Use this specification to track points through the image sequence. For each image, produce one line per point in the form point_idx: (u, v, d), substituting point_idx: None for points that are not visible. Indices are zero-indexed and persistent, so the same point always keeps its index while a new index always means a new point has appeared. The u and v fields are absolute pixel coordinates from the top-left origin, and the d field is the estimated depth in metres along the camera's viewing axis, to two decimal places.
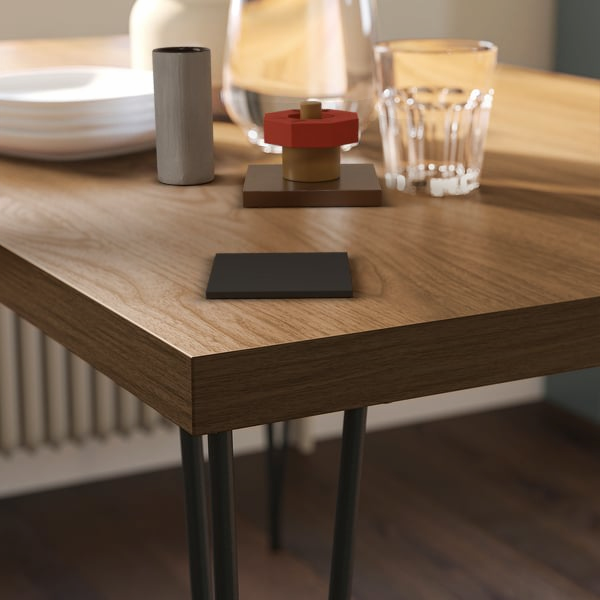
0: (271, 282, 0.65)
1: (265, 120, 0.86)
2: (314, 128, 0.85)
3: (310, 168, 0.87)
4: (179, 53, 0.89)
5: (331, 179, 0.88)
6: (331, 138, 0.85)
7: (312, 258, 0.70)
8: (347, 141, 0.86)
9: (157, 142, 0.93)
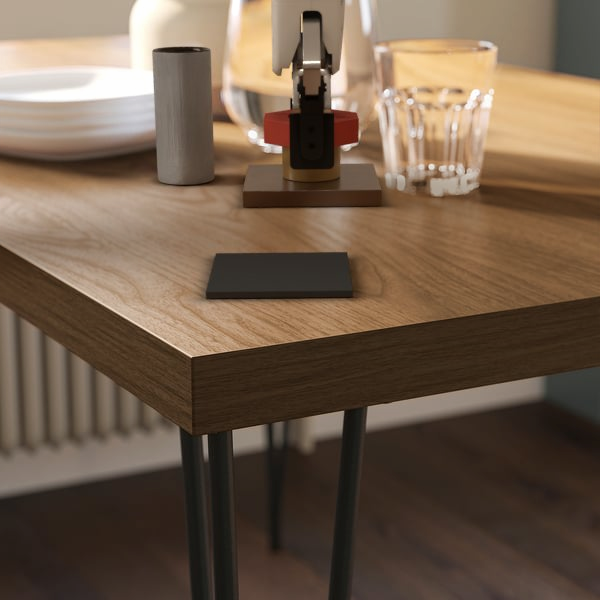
0: (271, 282, 0.65)
1: (265, 120, 0.86)
2: None
3: None
4: (179, 53, 0.89)
5: (331, 179, 0.88)
6: None
7: (312, 258, 0.70)
8: (347, 141, 0.86)
9: (157, 142, 0.93)
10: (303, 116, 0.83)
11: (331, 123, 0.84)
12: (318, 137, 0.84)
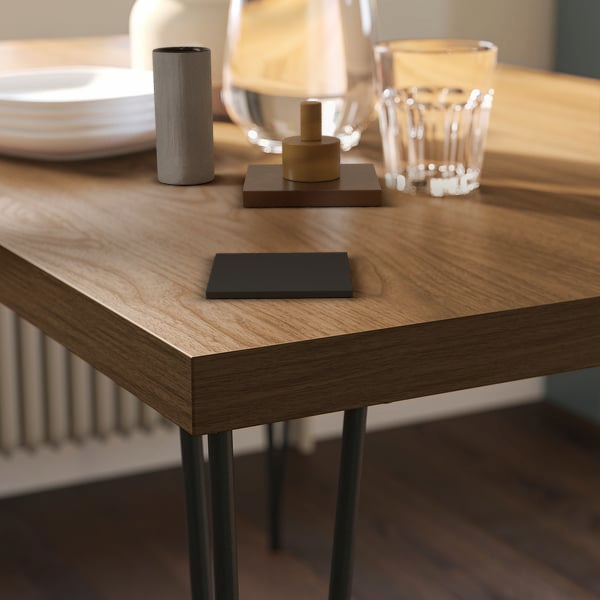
0: (271, 282, 0.65)
1: None
2: None
3: (310, 168, 0.87)
4: (179, 53, 0.89)
5: (331, 179, 0.88)
6: None
7: (312, 258, 0.70)
8: None
9: (157, 142, 0.93)
10: None
11: None
12: None
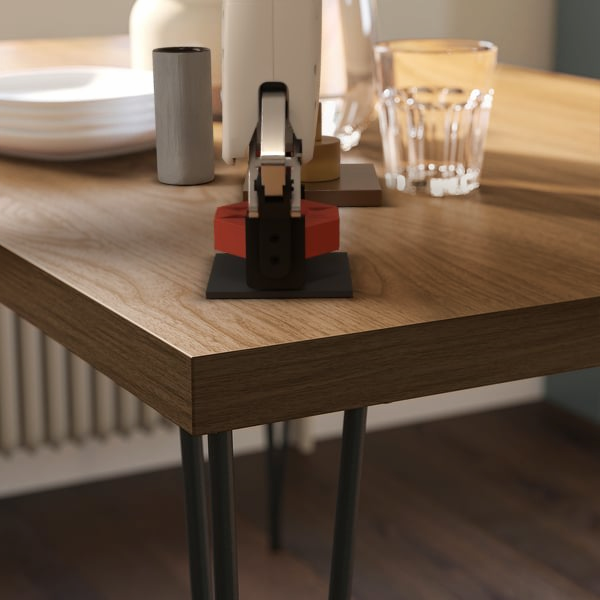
0: None
1: (216, 220, 0.65)
2: None
3: (310, 168, 0.87)
4: (179, 53, 0.89)
5: (331, 179, 0.88)
6: None
7: (312, 258, 0.70)
8: (325, 249, 0.65)
9: (157, 142, 0.93)
10: (263, 221, 0.62)
11: (302, 229, 0.63)
12: (283, 248, 0.62)
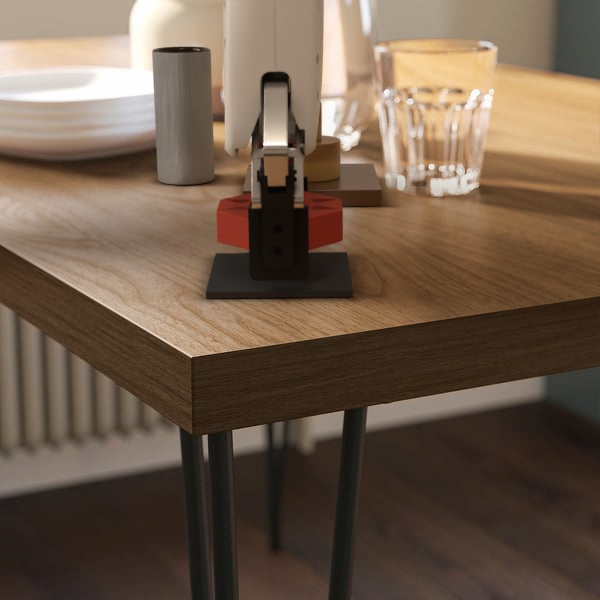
0: (271, 282, 0.65)
1: (218, 212, 0.65)
2: None
3: (310, 168, 0.87)
4: (179, 53, 0.89)
5: (331, 179, 0.88)
6: None
7: (312, 258, 0.70)
8: (328, 241, 0.65)
9: (157, 142, 0.93)
10: (266, 212, 0.62)
11: (305, 220, 0.62)
12: (287, 239, 0.62)
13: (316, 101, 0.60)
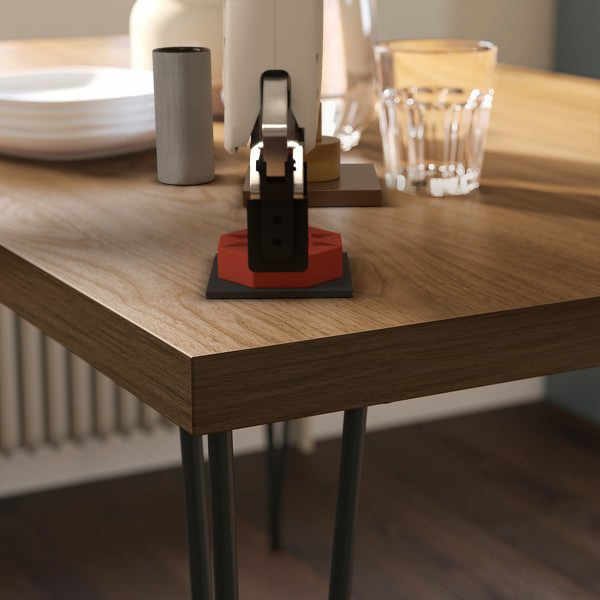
0: None
1: (219, 249, 0.66)
2: None
3: (310, 168, 0.87)
4: (179, 53, 0.89)
5: (331, 179, 0.88)
6: (306, 276, 0.64)
7: None
8: (328, 277, 0.65)
9: (157, 142, 0.93)
10: (265, 202, 0.61)
11: (304, 211, 0.61)
12: (286, 230, 0.61)
13: (316, 99, 0.60)
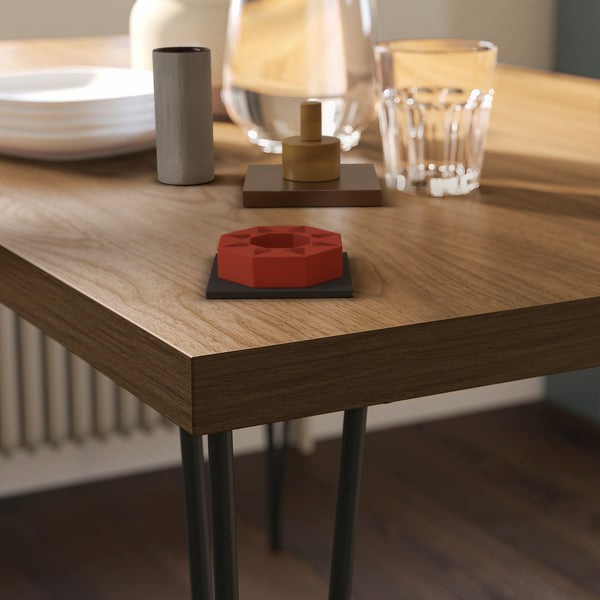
0: None
1: (219, 249, 0.66)
2: (283, 263, 0.64)
3: (310, 168, 0.87)
4: (179, 53, 0.89)
5: (331, 179, 0.88)
6: (306, 276, 0.64)
7: None
8: (328, 277, 0.65)
9: (157, 142, 0.93)
10: None
11: None
12: None
13: None
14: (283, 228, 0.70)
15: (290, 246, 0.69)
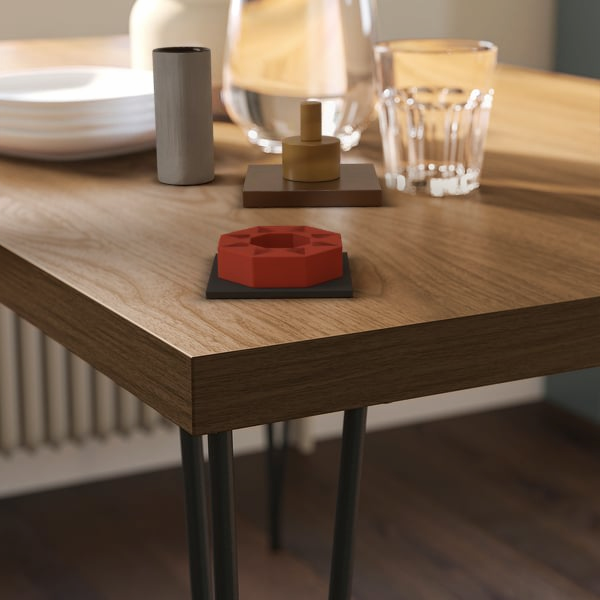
0: None
1: (219, 249, 0.66)
2: (283, 263, 0.64)
3: (310, 168, 0.87)
4: (179, 53, 0.89)
5: (331, 179, 0.88)
6: (306, 276, 0.64)
7: None
8: (328, 277, 0.65)
9: (157, 142, 0.93)
10: None
11: None
12: None
13: None
14: (283, 228, 0.70)
15: (290, 246, 0.69)
